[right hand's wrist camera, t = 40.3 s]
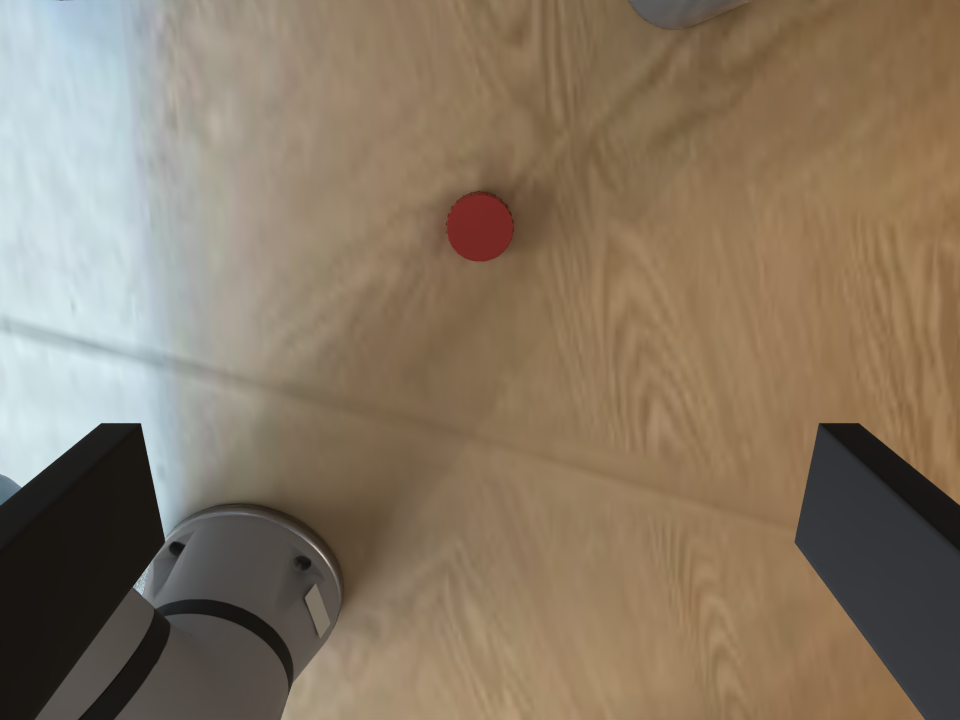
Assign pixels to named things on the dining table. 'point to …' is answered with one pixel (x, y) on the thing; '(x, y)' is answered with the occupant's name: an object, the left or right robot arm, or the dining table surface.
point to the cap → (479, 226)
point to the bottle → (682, 11)
